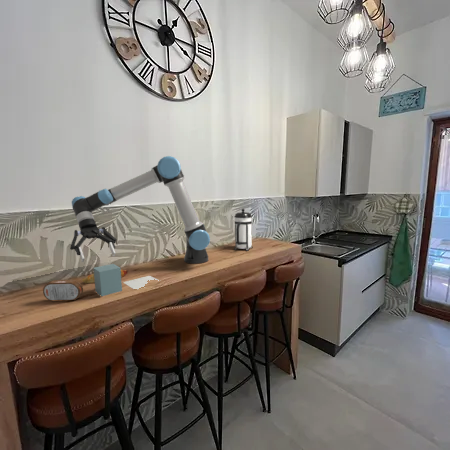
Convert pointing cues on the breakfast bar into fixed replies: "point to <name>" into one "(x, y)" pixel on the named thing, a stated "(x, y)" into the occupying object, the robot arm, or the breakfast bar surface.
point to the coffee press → (243, 230)
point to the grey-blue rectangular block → (107, 279)
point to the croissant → (91, 280)
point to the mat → (139, 282)
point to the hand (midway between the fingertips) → (99, 257)
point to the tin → (63, 290)
